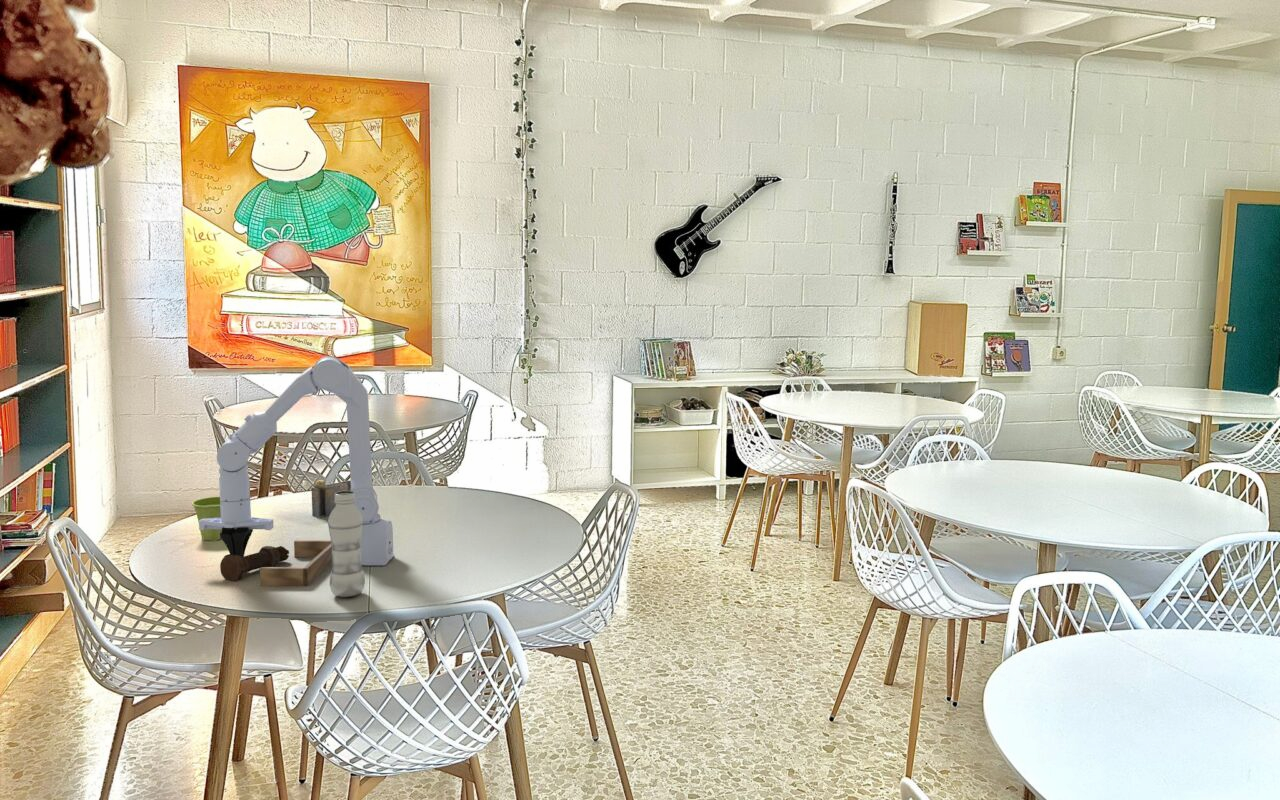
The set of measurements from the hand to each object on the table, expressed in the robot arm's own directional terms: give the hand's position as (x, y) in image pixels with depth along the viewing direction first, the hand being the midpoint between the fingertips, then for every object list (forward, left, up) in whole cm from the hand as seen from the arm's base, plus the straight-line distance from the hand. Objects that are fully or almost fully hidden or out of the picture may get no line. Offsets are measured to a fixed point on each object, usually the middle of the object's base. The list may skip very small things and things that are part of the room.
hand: (238, 563), depth 207 cm
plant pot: (+15, -25, -2) cm, 29 cm away
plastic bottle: (-27, +16, -2) cm, 32 cm away
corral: (-13, 0, -1) cm, 13 cm away
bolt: (-4, 0, -2) cm, 5 cm away
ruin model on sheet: (-5, -50, -2) cm, 50 cm away
